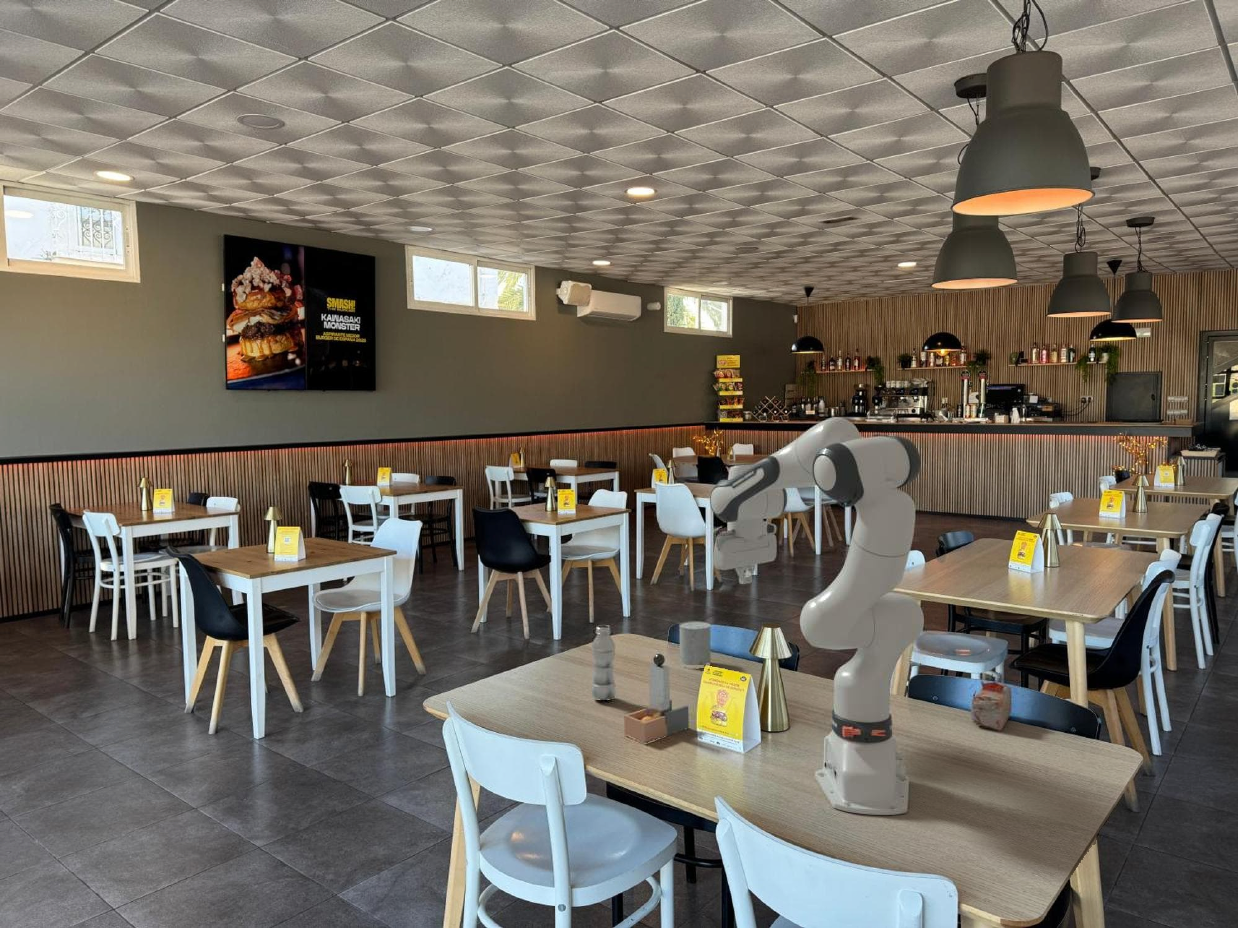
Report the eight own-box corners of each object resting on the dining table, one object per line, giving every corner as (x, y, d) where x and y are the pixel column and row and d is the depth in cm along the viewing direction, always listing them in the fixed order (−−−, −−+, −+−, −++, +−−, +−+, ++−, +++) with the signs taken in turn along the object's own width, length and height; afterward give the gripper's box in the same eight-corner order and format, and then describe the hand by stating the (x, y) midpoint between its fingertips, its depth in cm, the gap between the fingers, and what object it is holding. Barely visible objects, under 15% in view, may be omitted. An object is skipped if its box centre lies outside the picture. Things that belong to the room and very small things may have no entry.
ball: (660, 720, 196) (652, 736, 195) (657, 722, 200) (650, 737, 199) (645, 712, 197) (637, 728, 195) (643, 713, 200) (635, 729, 199)
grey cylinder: (678, 668, 250) (677, 628, 250) (681, 659, 260) (680, 620, 259) (709, 669, 249) (709, 629, 248) (711, 660, 258) (711, 621, 257)
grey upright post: (656, 714, 203) (656, 650, 202) (671, 719, 199) (670, 654, 198) (646, 717, 201) (645, 653, 200) (660, 723, 197) (660, 657, 196)
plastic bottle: (604, 694, 228) (603, 622, 227) (621, 699, 223) (620, 626, 222) (586, 699, 224) (585, 626, 222) (604, 705, 219) (602, 631, 218)
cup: (646, 728, 202) (646, 708, 202) (667, 736, 197) (667, 715, 197) (624, 735, 198) (624, 715, 197) (644, 744, 192) (644, 723, 192)
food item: (1004, 734, 196) (1005, 693, 195) (968, 727, 200) (969, 687, 200) (1013, 716, 207) (1013, 677, 207) (979, 710, 211) (979, 672, 211)
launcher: (669, 720, 207) (669, 699, 207) (688, 728, 202) (688, 706, 202) (647, 728, 202) (647, 706, 202) (666, 736, 197) (666, 713, 197)
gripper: (726, 533, 198) (726, 590, 198) (780, 525, 211) (780, 579, 212) (707, 531, 202) (707, 587, 203) (761, 523, 216) (761, 576, 216)
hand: (745, 583), depth 207 cm, fingers closed
